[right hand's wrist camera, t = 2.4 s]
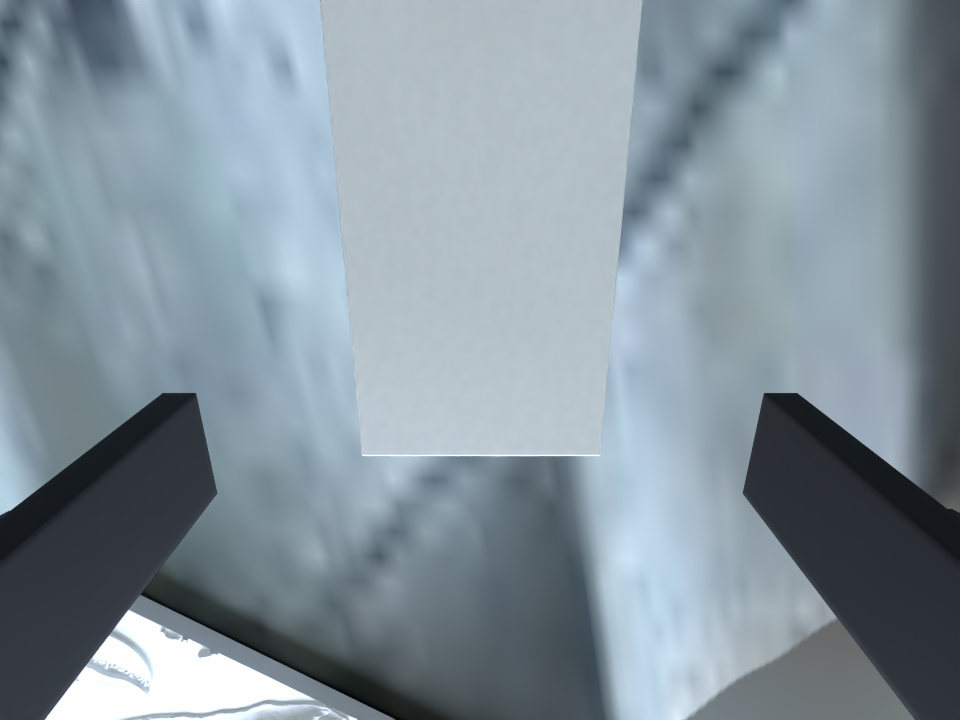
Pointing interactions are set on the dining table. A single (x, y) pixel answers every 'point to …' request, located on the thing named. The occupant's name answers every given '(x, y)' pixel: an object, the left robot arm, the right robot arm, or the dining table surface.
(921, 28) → the dining table surface
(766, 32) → the dining table surface
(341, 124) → the long white beam
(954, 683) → the right robot arm
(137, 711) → the relief map
